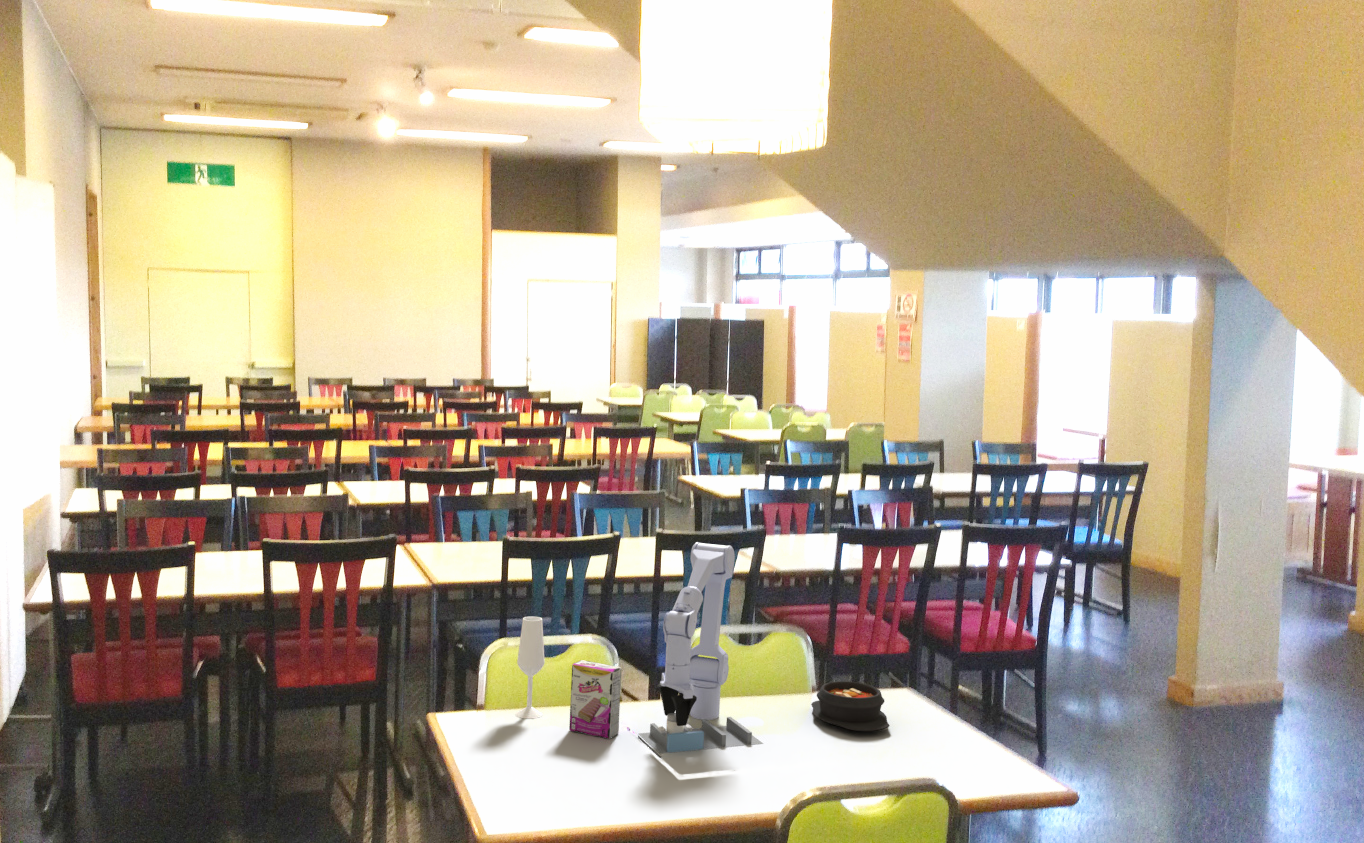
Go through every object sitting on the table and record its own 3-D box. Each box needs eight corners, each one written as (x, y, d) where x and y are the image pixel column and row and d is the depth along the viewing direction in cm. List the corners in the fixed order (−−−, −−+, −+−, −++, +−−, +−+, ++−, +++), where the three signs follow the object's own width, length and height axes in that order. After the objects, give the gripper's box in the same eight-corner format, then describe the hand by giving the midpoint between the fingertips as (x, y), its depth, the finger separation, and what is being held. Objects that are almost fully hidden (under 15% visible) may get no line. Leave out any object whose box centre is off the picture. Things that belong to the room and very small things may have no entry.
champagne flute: (536, 719, 294) (539, 623, 293) (510, 716, 296) (514, 620, 294) (546, 712, 301) (550, 617, 299) (521, 708, 302) (525, 614, 301)
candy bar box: (568, 731, 287) (570, 663, 286) (578, 725, 291) (581, 659, 290) (609, 740, 282) (612, 671, 281) (619, 734, 287) (622, 666, 285)
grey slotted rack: (637, 737, 285) (638, 716, 284) (737, 728, 294) (738, 708, 294) (659, 757, 272) (660, 736, 271) (763, 747, 282) (764, 726, 281)
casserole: (907, 735, 296) (908, 701, 295) (839, 740, 289) (841, 706, 289) (858, 704, 319) (859, 673, 318) (794, 709, 312) (796, 677, 312)
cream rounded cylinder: (663, 738, 282) (664, 713, 281) (679, 737, 283) (680, 712, 283) (669, 744, 278) (670, 718, 278) (685, 742, 279) (686, 717, 279)
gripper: (650, 655, 284) (648, 711, 285) (673, 672, 271) (670, 731, 272) (678, 653, 287) (675, 709, 288) (702, 670, 274) (699, 728, 275)
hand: (675, 720), depth 280 cm, fingers open, 7 cm apart
